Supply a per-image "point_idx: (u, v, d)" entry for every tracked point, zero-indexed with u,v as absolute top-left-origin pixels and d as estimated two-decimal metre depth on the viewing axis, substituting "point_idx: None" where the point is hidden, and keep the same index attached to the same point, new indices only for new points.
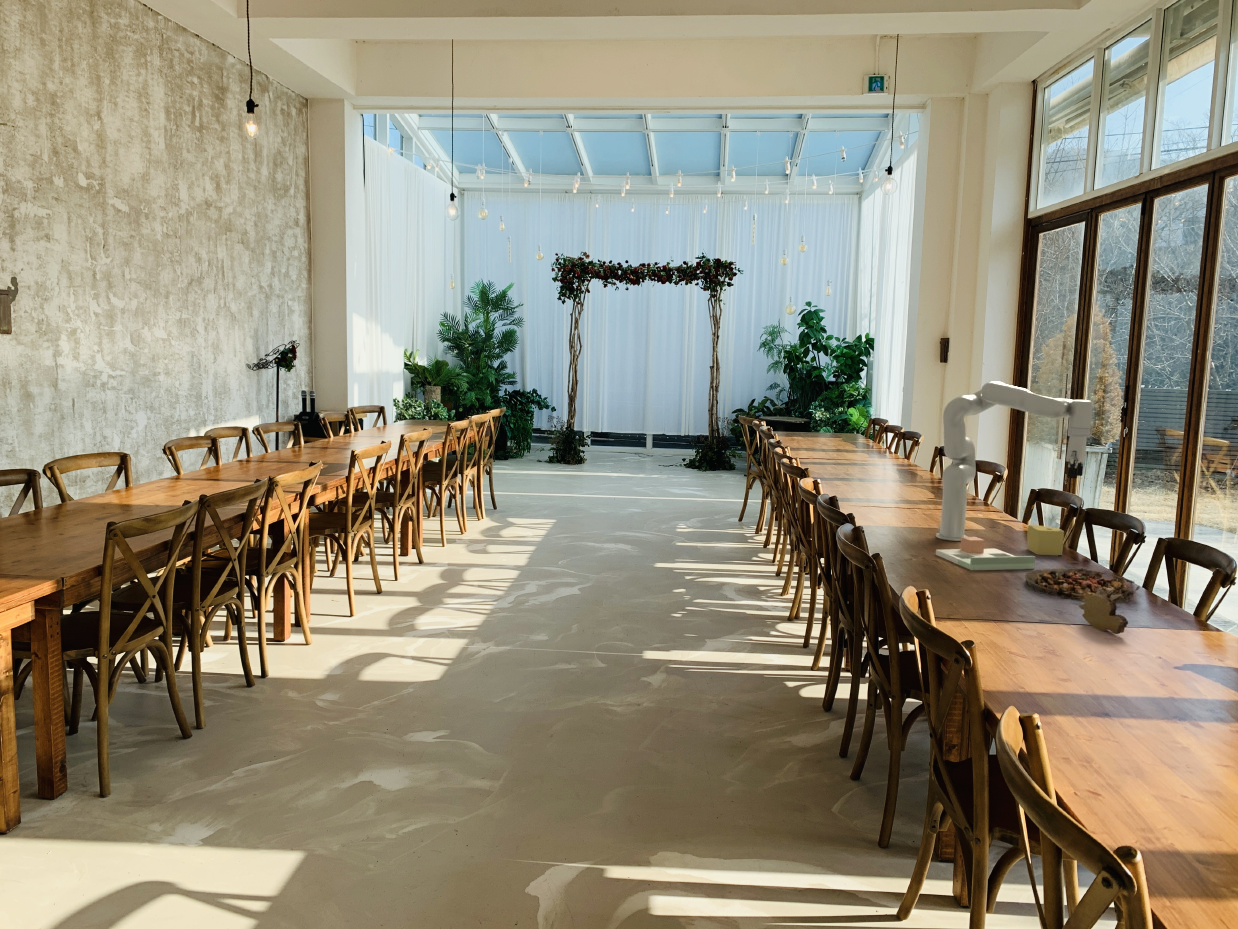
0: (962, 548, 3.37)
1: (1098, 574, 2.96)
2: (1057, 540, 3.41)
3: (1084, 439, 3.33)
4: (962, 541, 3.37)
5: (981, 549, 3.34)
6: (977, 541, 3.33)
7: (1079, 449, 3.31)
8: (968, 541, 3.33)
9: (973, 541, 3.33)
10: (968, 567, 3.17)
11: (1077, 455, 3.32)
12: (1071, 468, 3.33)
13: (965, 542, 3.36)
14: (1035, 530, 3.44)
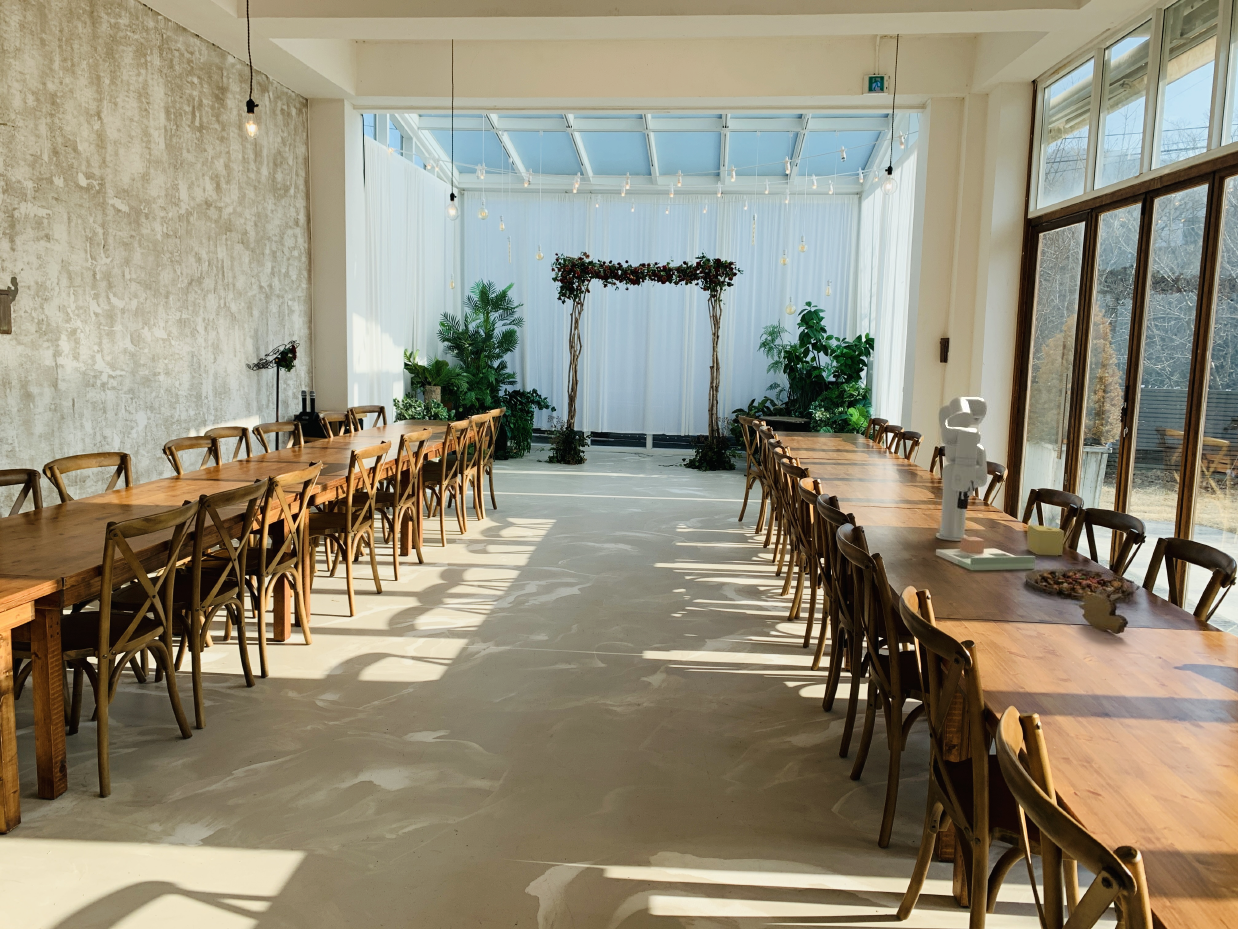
0: (962, 548, 3.37)
1: (1098, 574, 2.96)
2: (1057, 540, 3.41)
3: None
4: (962, 541, 3.37)
5: (981, 549, 3.34)
6: (977, 541, 3.33)
7: (975, 479, 3.37)
8: (968, 541, 3.33)
9: (973, 541, 3.33)
10: (968, 567, 3.17)
11: (974, 485, 3.37)
12: (964, 499, 3.41)
13: (965, 542, 3.36)
14: (1035, 530, 3.44)
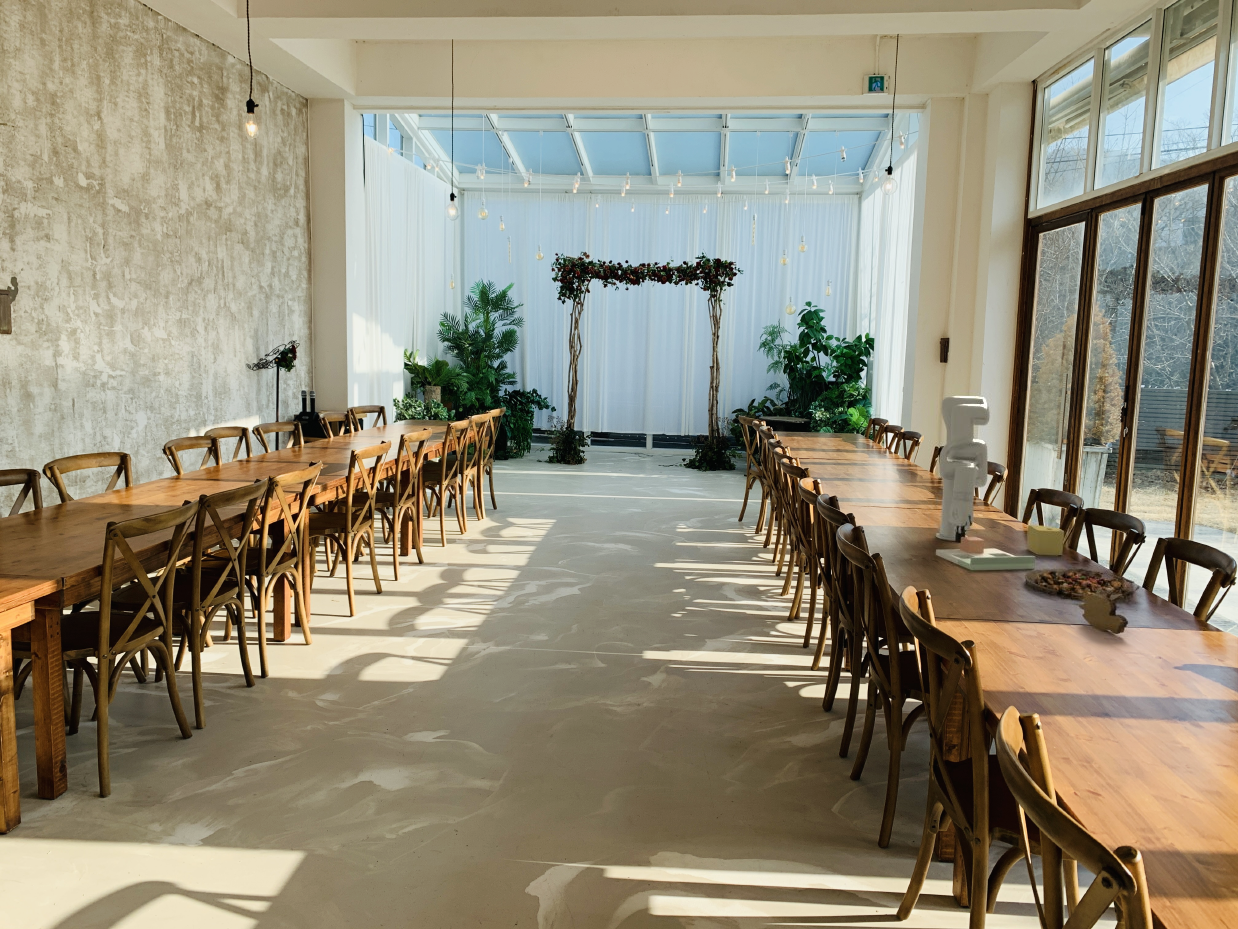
0: (962, 548, 3.37)
1: (1098, 574, 2.96)
2: (1057, 540, 3.41)
3: None
4: (962, 541, 3.37)
5: (981, 549, 3.34)
6: (977, 541, 3.33)
7: (972, 513, 3.39)
8: (968, 541, 3.33)
9: (973, 541, 3.33)
10: (968, 567, 3.17)
11: (971, 519, 3.38)
12: (961, 534, 3.42)
13: (965, 542, 3.36)
14: (1035, 530, 3.44)
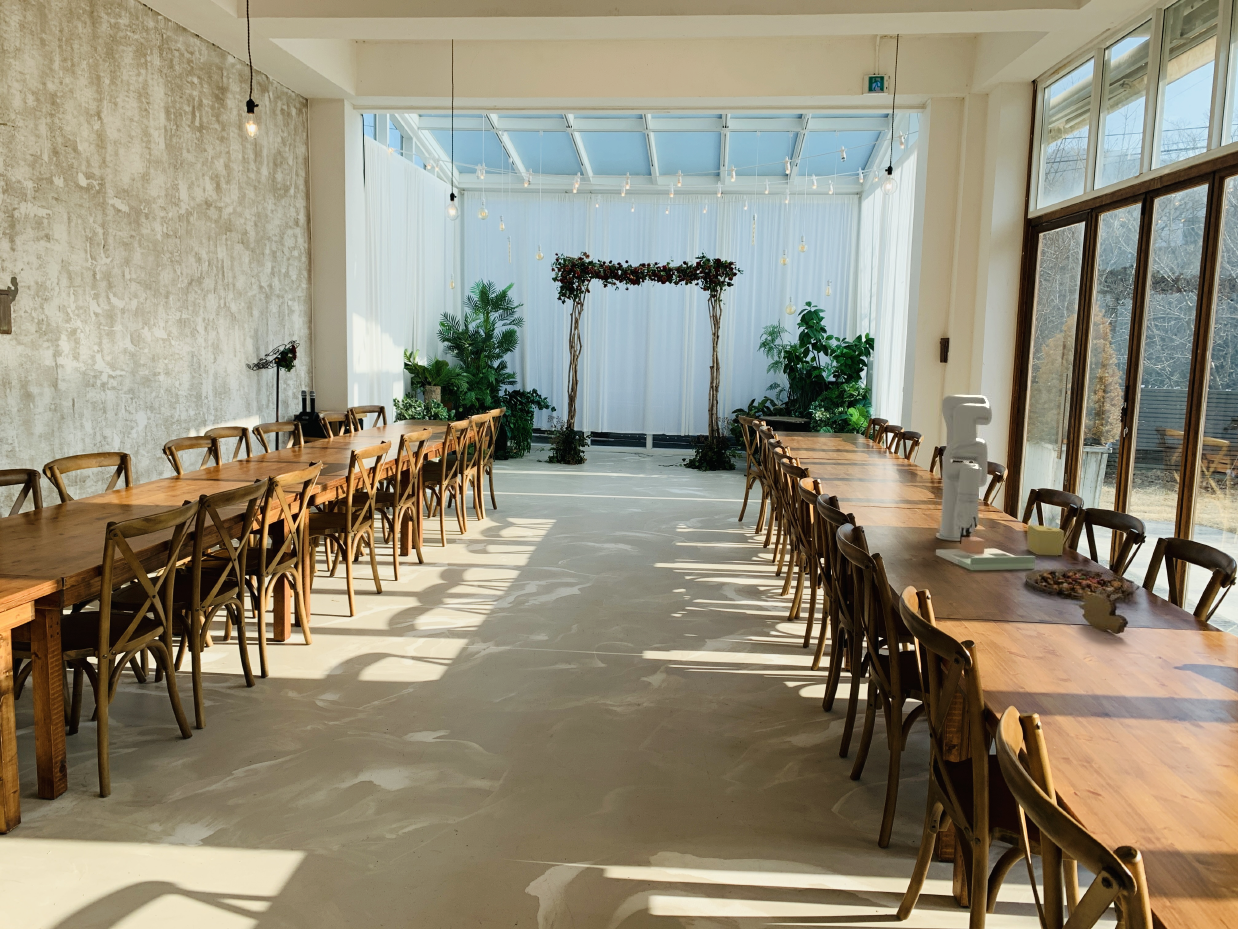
0: (962, 548, 3.37)
1: (1098, 574, 2.96)
2: (1057, 540, 3.41)
3: None
4: (962, 541, 3.37)
5: (981, 549, 3.33)
6: (977, 541, 3.33)
7: (977, 515, 3.35)
8: (968, 541, 3.33)
9: (973, 541, 3.32)
10: (968, 567, 3.17)
11: (976, 521, 3.35)
12: (966, 535, 3.39)
13: (965, 542, 3.35)
14: (1035, 530, 3.44)
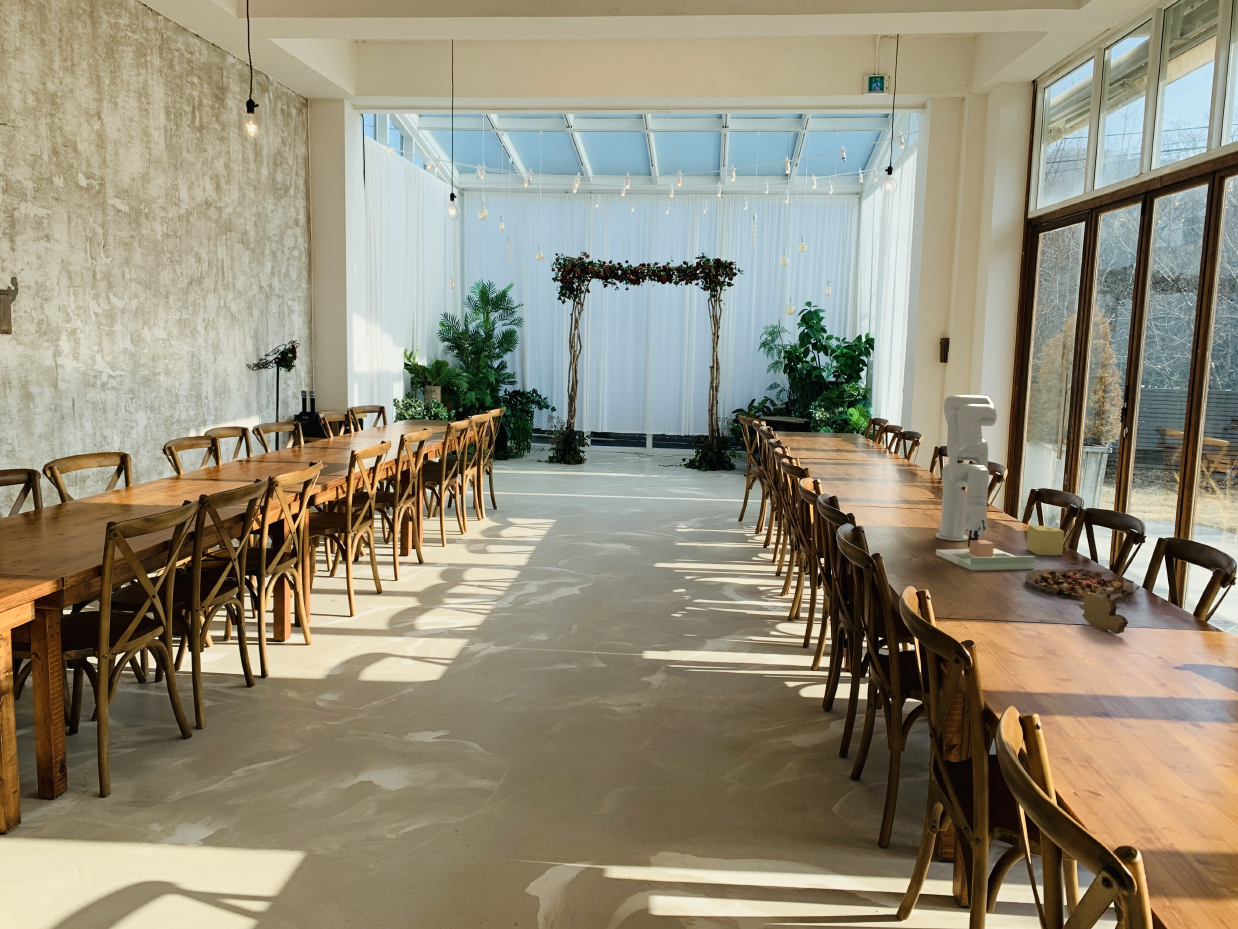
0: (971, 551, 3.32)
1: (1098, 574, 2.96)
2: (1057, 540, 3.41)
3: None
4: (971, 544, 3.32)
5: (990, 552, 3.28)
6: (986, 544, 3.27)
7: (986, 518, 3.30)
8: (977, 544, 3.28)
9: (982, 544, 3.27)
10: (968, 567, 3.17)
11: (985, 524, 3.30)
12: (974, 538, 3.34)
13: (973, 545, 3.30)
14: (1035, 530, 3.44)
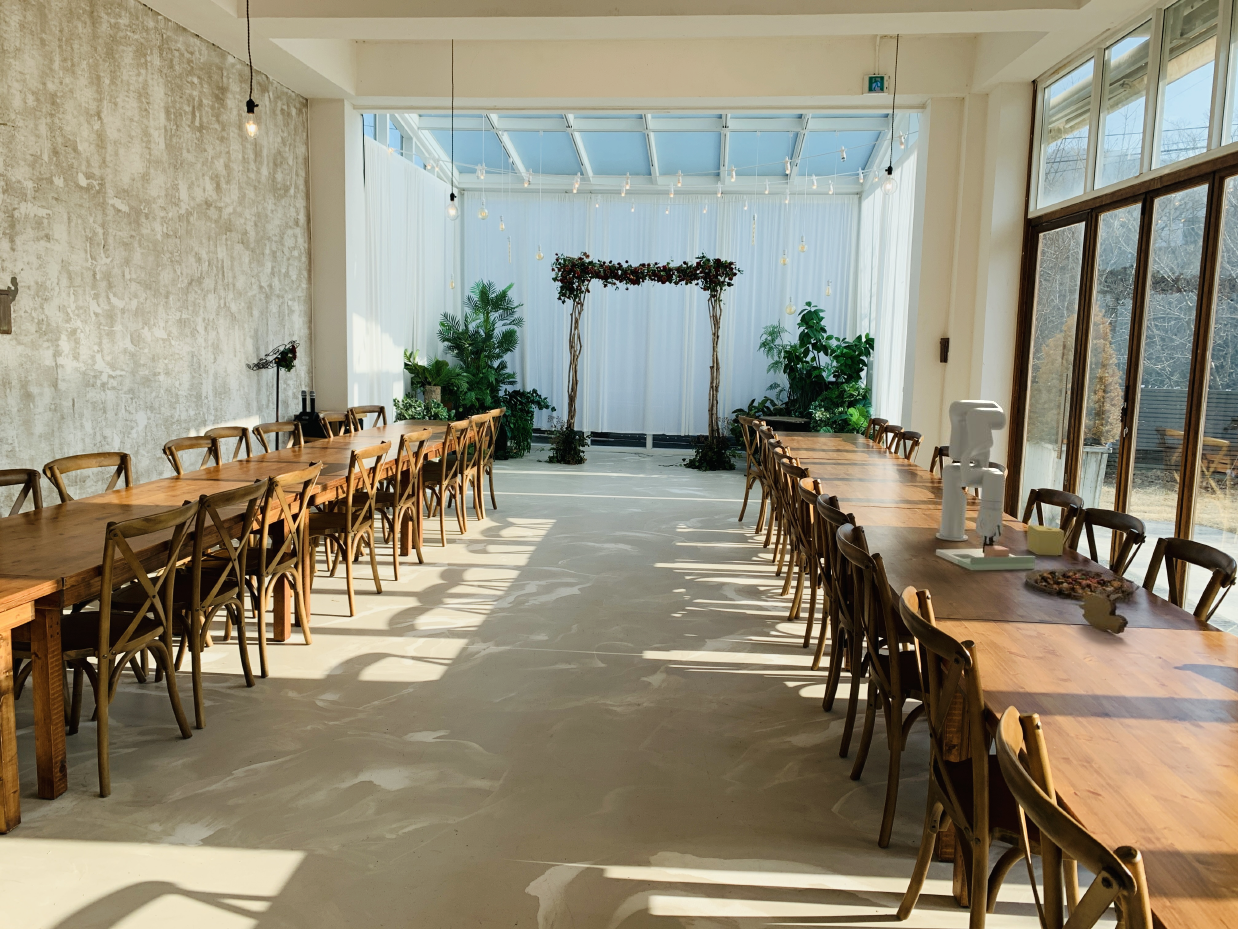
0: None
1: (1098, 574, 2.96)
2: (1057, 540, 3.41)
3: None
4: (986, 550, 3.22)
5: None
6: (1002, 550, 3.18)
7: (1002, 523, 3.20)
8: (992, 550, 3.18)
9: (998, 550, 3.18)
10: (968, 567, 3.17)
11: (1000, 529, 3.20)
12: (990, 544, 3.24)
13: (989, 551, 3.21)
14: (1035, 530, 3.44)
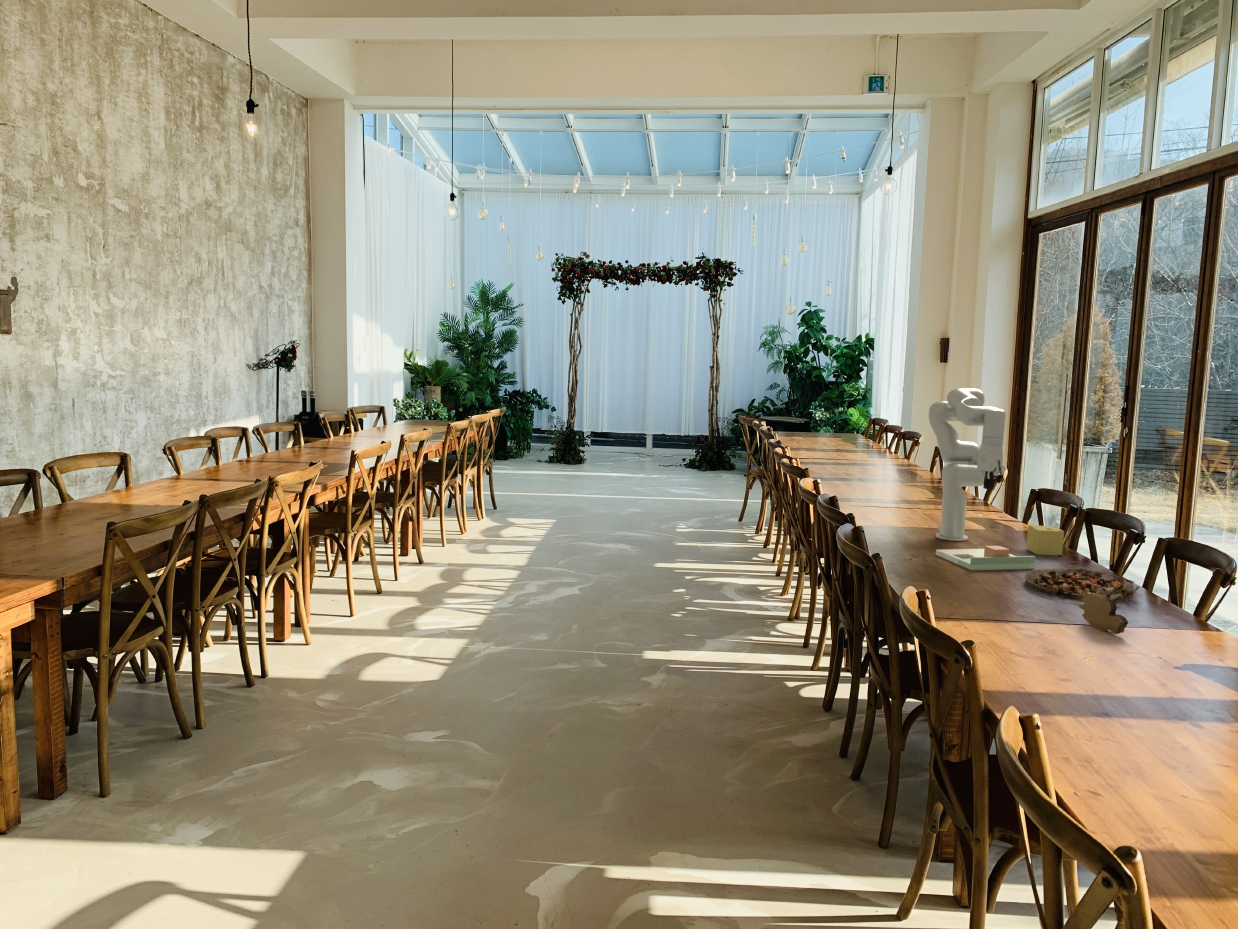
0: None
1: (1098, 574, 2.96)
2: (1057, 540, 3.41)
3: None
4: (986, 550, 3.22)
5: None
6: (1002, 550, 3.18)
7: (1002, 458, 3.32)
8: (992, 550, 3.18)
9: (998, 550, 3.18)
10: (968, 567, 3.17)
11: (1001, 465, 3.32)
12: (990, 479, 3.36)
13: (989, 551, 3.21)
14: (1035, 530, 3.44)
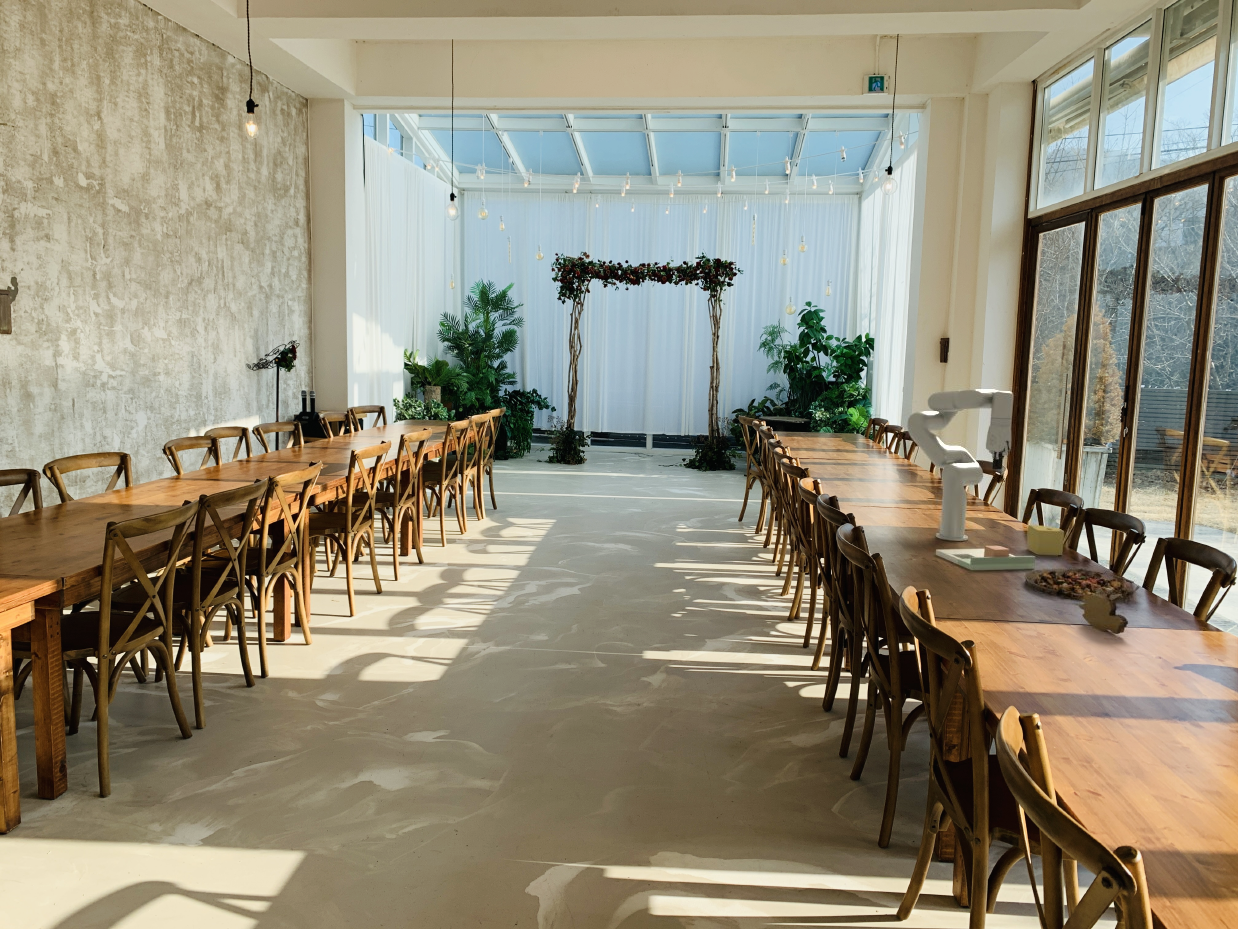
0: None
1: (1098, 574, 2.96)
2: (1057, 540, 3.41)
3: None
4: (986, 550, 3.22)
5: None
6: (1002, 550, 3.18)
7: (1010, 439, 3.41)
8: (992, 550, 3.18)
9: (998, 550, 3.18)
10: (968, 567, 3.17)
11: (1009, 445, 3.41)
12: (999, 460, 3.45)
13: (989, 551, 3.21)
14: (1035, 530, 3.44)
